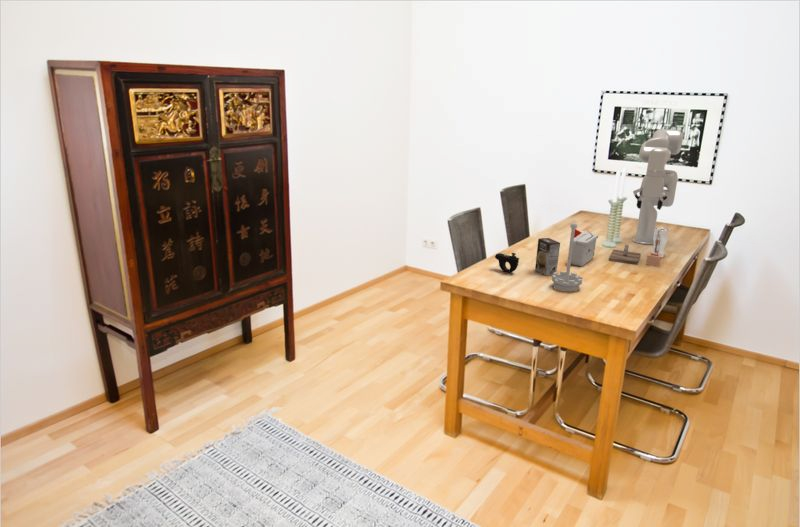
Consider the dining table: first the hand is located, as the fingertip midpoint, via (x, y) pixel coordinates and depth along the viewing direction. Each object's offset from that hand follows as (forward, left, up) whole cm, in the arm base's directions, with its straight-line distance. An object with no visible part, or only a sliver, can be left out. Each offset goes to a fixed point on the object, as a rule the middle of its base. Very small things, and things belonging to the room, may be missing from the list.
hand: (648, 208), depth 277 cm
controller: (+51, -56, -29) cm, 81 cm away
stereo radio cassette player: (+14, -27, -29) cm, 42 cm away
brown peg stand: (-4, -8, -29) cm, 30 cm away
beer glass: (-18, +7, -29) cm, 35 cm away
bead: (-1, +6, -29) cm, 29 cm away
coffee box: (+42, -39, -29) cm, 64 cm away
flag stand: (+58, -26, -29) cm, 69 cm away
